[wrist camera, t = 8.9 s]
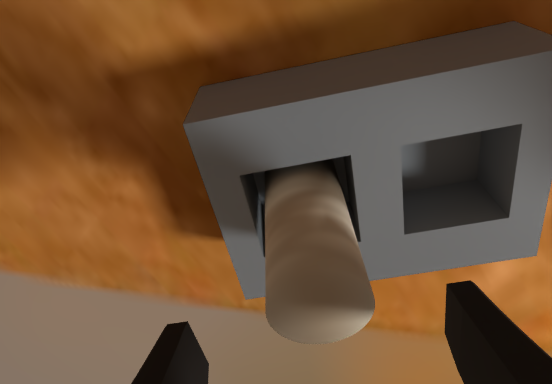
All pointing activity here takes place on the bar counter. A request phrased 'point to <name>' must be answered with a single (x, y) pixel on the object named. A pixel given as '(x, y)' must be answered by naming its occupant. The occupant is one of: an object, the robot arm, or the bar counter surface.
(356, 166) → the socket block
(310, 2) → the bar counter surface
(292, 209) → the dowel
